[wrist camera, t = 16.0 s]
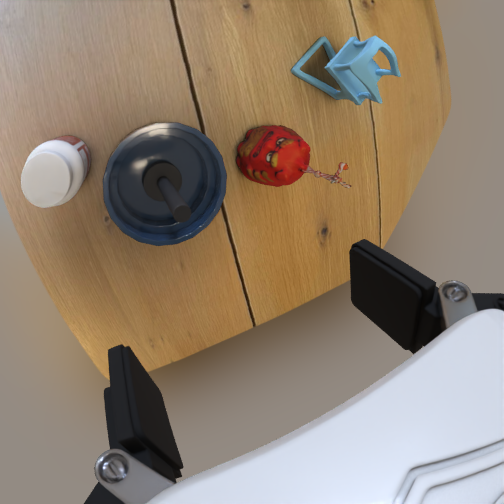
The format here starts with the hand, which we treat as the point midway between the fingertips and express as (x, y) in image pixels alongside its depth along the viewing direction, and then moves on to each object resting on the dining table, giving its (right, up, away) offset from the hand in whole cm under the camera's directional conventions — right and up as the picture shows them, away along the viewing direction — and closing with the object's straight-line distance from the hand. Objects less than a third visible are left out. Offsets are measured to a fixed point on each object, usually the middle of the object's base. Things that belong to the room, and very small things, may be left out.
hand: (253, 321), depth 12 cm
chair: (+10, +27, +26) cm, 39 cm away
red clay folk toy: (+1, +15, +27) cm, 31 cm away
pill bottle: (-21, +13, +18) cm, 31 cm away
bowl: (-11, +11, +23) cm, 28 cm away
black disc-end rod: (-11, +11, +23) cm, 28 cm away
